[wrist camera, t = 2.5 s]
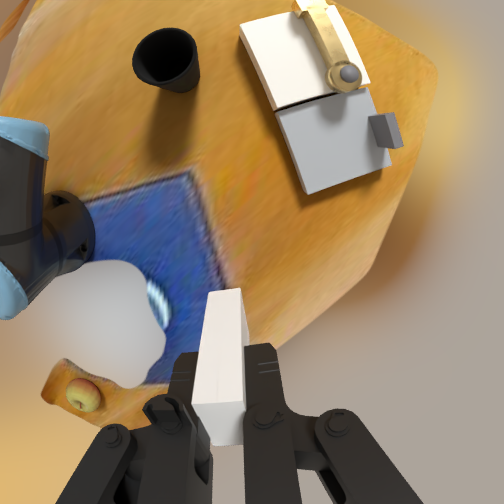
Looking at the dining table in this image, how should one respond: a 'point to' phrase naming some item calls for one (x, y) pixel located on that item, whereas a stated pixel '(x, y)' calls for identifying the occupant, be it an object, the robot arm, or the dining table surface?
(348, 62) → the bar
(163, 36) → the cup
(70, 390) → the apple
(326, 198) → the dining table surface
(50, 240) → the robot arm
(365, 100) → the doorframe
